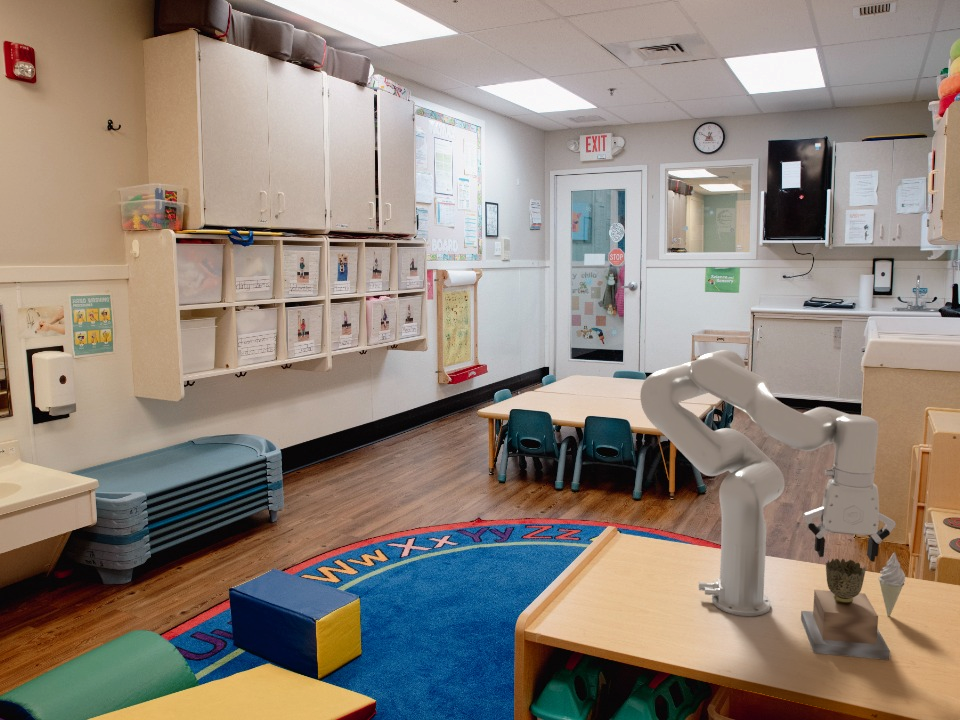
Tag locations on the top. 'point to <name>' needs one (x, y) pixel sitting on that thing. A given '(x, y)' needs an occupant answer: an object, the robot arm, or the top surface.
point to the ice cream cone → (891, 583)
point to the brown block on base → (844, 627)
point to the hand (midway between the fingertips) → (845, 556)
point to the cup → (844, 579)
